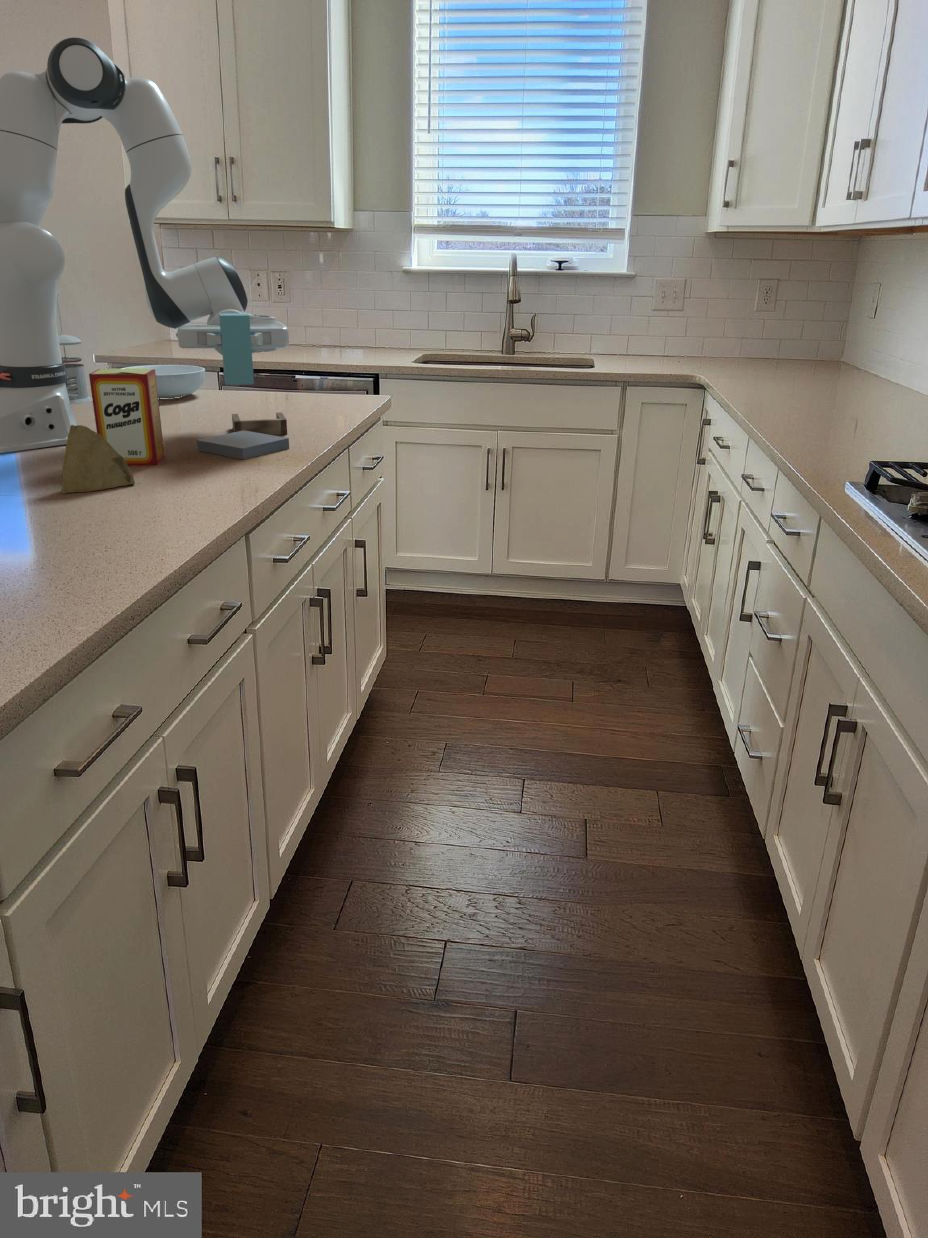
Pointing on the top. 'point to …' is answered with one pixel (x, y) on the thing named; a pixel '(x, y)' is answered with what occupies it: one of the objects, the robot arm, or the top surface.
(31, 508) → the top surface
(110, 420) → the baking soda box
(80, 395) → the french press
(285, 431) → the walnut cubby
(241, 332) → the teal block
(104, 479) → the rock
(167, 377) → the serving bowl
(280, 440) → the slate tile
